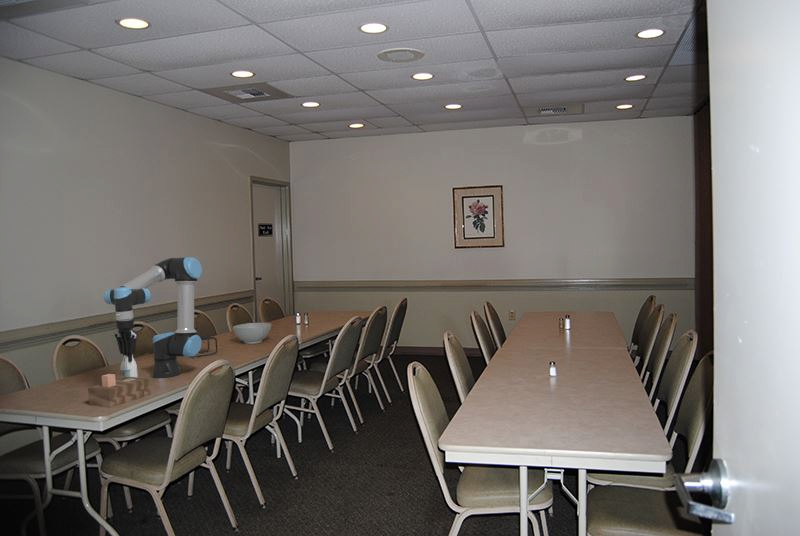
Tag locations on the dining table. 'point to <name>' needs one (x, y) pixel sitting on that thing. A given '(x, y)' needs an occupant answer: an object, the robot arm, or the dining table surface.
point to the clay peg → (108, 380)
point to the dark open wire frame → (208, 344)
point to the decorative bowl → (252, 332)
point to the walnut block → (119, 392)
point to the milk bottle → (129, 372)
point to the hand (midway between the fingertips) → (128, 368)
